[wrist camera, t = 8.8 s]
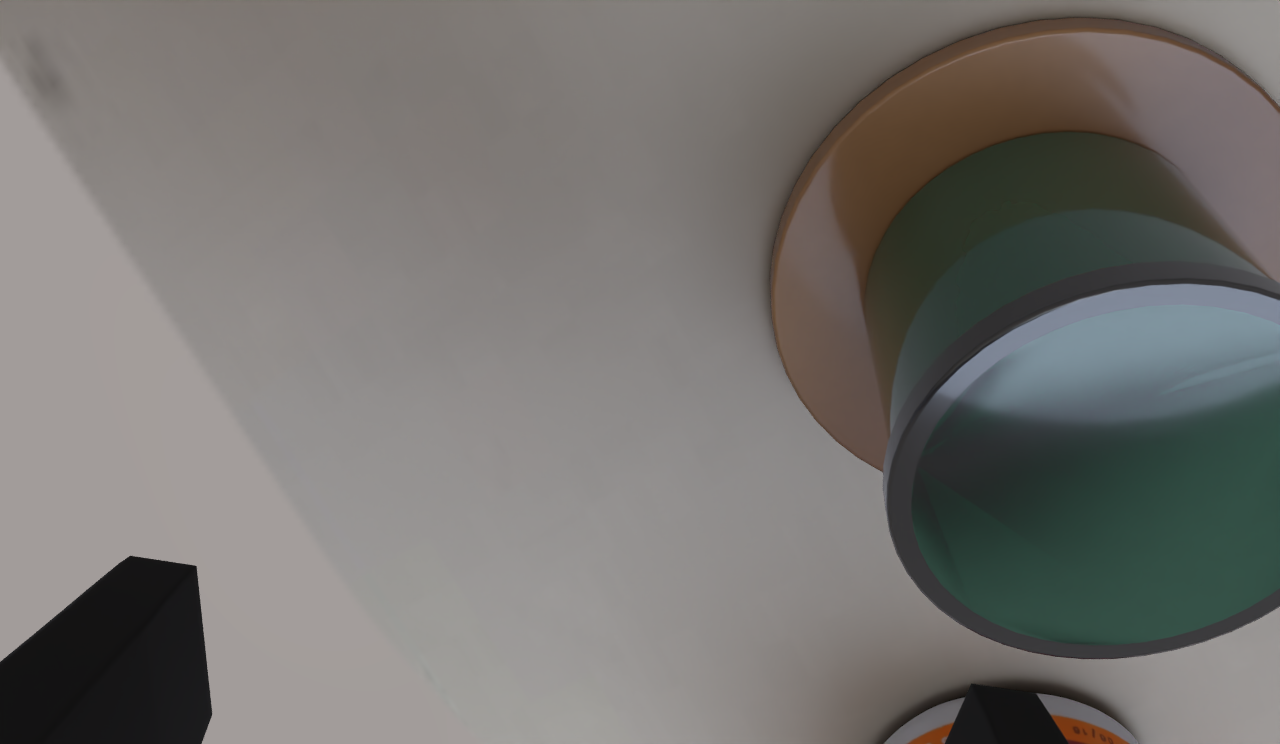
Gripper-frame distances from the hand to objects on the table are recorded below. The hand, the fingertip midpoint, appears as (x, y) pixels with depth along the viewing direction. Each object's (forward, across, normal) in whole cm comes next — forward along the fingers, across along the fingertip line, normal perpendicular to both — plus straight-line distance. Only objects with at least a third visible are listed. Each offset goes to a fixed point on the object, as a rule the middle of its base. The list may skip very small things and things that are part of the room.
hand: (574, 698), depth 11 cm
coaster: (+9, -6, -1) cm, 11 cm away
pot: (+9, -6, -1) cm, 11 cm away
